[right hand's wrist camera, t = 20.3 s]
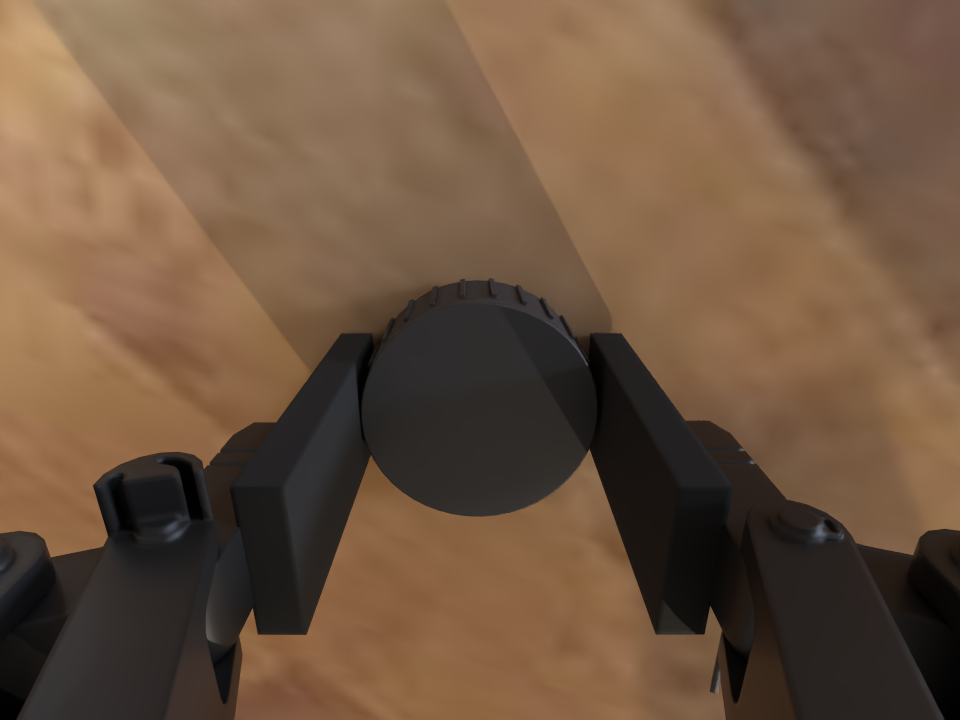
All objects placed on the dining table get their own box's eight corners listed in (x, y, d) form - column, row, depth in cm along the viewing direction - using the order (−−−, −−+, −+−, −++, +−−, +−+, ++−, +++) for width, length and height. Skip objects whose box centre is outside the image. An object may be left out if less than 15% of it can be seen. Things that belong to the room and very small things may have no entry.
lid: (377, 264, 13) (361, 285, 11) (602, 289, 14) (624, 314, 12) (367, 462, 15) (352, 509, 13) (564, 479, 15) (578, 527, 13)
